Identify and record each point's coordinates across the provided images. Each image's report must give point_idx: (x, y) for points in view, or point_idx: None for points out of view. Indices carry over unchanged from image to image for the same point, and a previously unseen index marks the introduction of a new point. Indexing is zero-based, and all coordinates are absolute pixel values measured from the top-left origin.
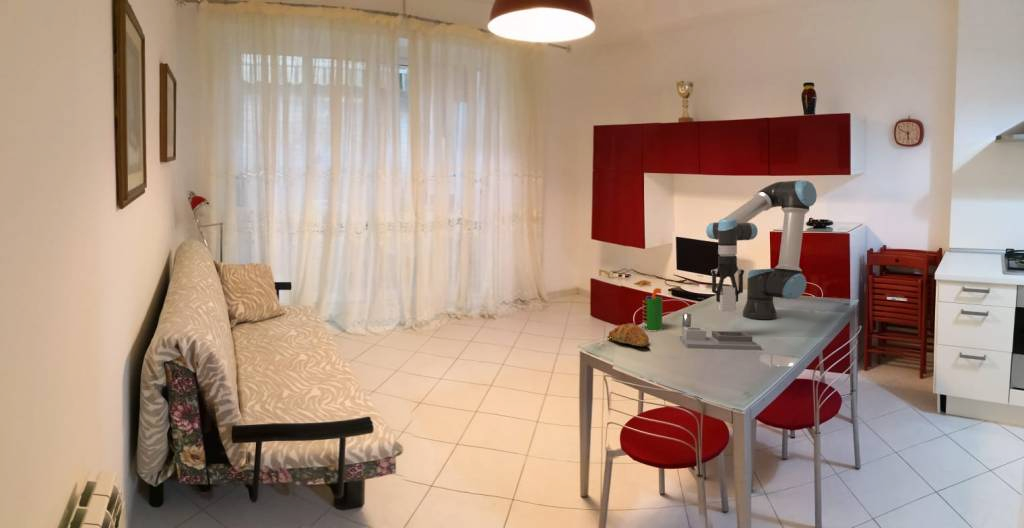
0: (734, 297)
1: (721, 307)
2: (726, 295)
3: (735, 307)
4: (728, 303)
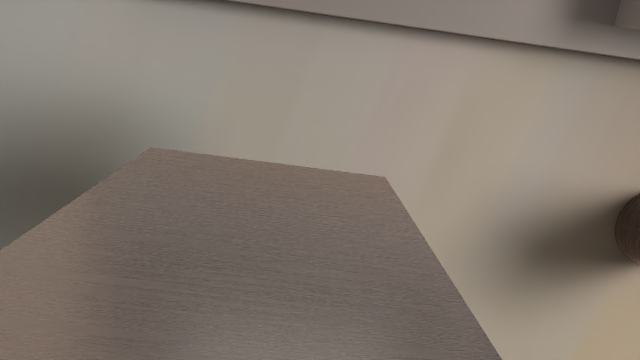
0: (25, 254)
1: None
2: (341, 326)
3: None
4: (271, 208)
